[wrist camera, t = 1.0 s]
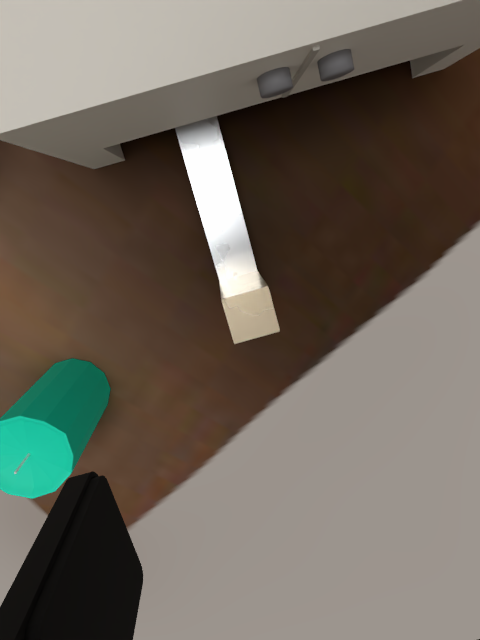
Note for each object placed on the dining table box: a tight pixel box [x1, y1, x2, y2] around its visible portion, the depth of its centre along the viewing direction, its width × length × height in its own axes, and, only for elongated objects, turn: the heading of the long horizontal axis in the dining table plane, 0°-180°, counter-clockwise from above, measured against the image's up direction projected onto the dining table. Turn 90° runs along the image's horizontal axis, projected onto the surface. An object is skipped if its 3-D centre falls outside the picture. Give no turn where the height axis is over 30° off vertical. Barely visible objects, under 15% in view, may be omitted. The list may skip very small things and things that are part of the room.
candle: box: [0, 358, 111, 498], centre depth 32 cm, size 6×6×12 cm
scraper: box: [175, 116, 280, 344], centre depth 29 cm, size 19×7×10 cm, turn 15°
